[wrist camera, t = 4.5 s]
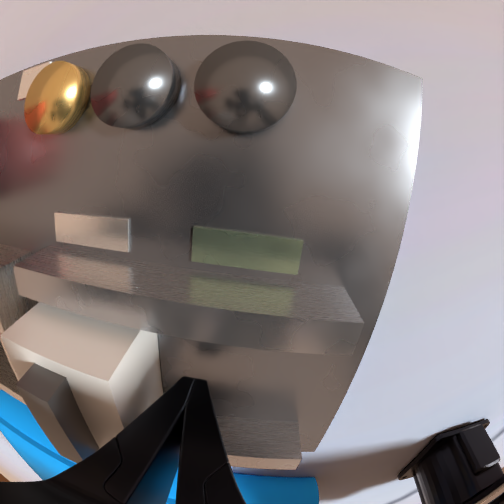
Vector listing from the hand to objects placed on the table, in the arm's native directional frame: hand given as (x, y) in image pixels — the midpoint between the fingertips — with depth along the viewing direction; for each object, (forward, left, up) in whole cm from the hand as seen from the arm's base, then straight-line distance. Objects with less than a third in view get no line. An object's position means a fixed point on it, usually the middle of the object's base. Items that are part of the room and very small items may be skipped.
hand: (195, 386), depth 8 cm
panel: (+2, +4, -2) cm, 6 cm away
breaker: (0, +4, -1) cm, 4 cm away
